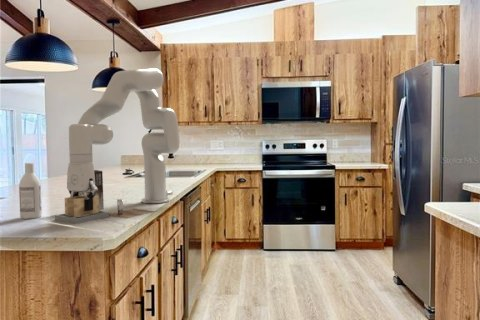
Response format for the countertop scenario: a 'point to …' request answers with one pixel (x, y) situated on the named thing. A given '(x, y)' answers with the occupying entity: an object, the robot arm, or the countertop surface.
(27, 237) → the countertop surface
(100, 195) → the coffee box
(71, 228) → the countertop surface
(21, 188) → the bath foam
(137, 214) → the board
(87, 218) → the tray
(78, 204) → the wooden block
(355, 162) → the countertop surface
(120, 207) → the stake
